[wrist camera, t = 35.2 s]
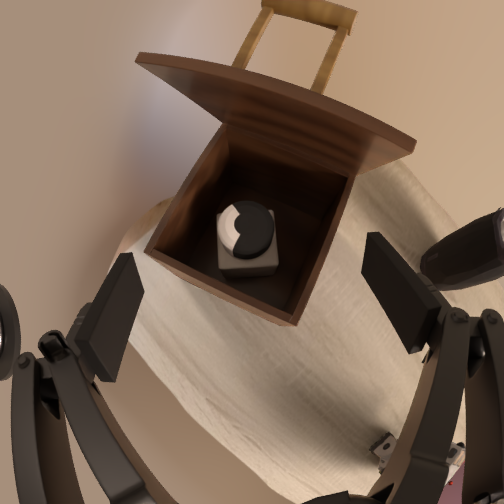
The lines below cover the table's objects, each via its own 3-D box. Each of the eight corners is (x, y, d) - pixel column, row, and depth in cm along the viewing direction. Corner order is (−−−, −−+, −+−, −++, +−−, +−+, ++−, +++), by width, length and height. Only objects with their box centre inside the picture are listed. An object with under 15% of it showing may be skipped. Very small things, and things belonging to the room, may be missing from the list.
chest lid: (413, 153, 12) (445, 32, 9) (133, 62, 13) (194, -35, 11) (356, 176, 29) (382, 109, 27) (221, 122, 31) (250, 61, 29)
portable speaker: (459, 261, 42) (535, 228, 23) (442, 305, 40) (526, 287, 21) (428, 233, 43) (501, 187, 24) (409, 277, 41) (491, 245, 22)
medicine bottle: (270, 227, 42) (276, 191, 31) (274, 275, 40) (283, 255, 29) (221, 231, 42) (211, 195, 30) (223, 279, 40) (212, 260, 29)
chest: (280, 326, 39) (296, 326, 26) (177, 276, 41) (143, 251, 27) (326, 220, 43) (356, 175, 30) (230, 178, 45) (223, 121, 31)
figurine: (433, 432, 34) (485, 455, 20) (386, 478, 32) (427, 517, 18) (411, 404, 36) (467, 426, 21) (360, 454, 34) (400, 496, 19)
